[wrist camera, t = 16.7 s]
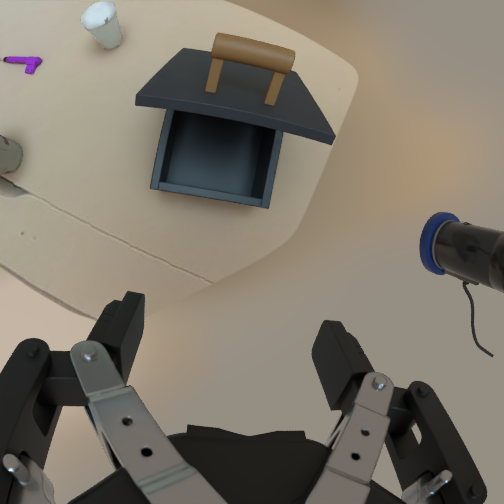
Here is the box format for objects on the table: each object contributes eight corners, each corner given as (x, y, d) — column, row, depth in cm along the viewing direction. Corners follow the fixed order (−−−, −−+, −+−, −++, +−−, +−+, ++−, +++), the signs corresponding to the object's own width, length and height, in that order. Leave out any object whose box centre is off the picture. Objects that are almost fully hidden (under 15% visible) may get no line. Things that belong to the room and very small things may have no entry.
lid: (331, 145, 18) (362, 81, 15) (134, 105, 15) (144, 29, 12) (294, 77, 29) (308, 40, 25) (181, 54, 26) (190, 13, 23)
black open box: (254, 205, 39) (268, 208, 32) (158, 189, 37) (149, 188, 29) (275, 95, 37) (293, 76, 29) (184, 77, 34) (182, 52, 26)
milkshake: (110, 62, 31) (89, 30, 22) (92, 43, 30) (70, 11, 20) (135, 42, 31) (122, 6, 22) (117, 24, 30) (101, -12, 20)
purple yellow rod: (43, 57, 28) (-15, 56, 24) (39, 56, 27) (-19, 56, 23) (37, 73, 29) (-20, 70, 25) (33, 73, 28) (-24, 70, 24)
